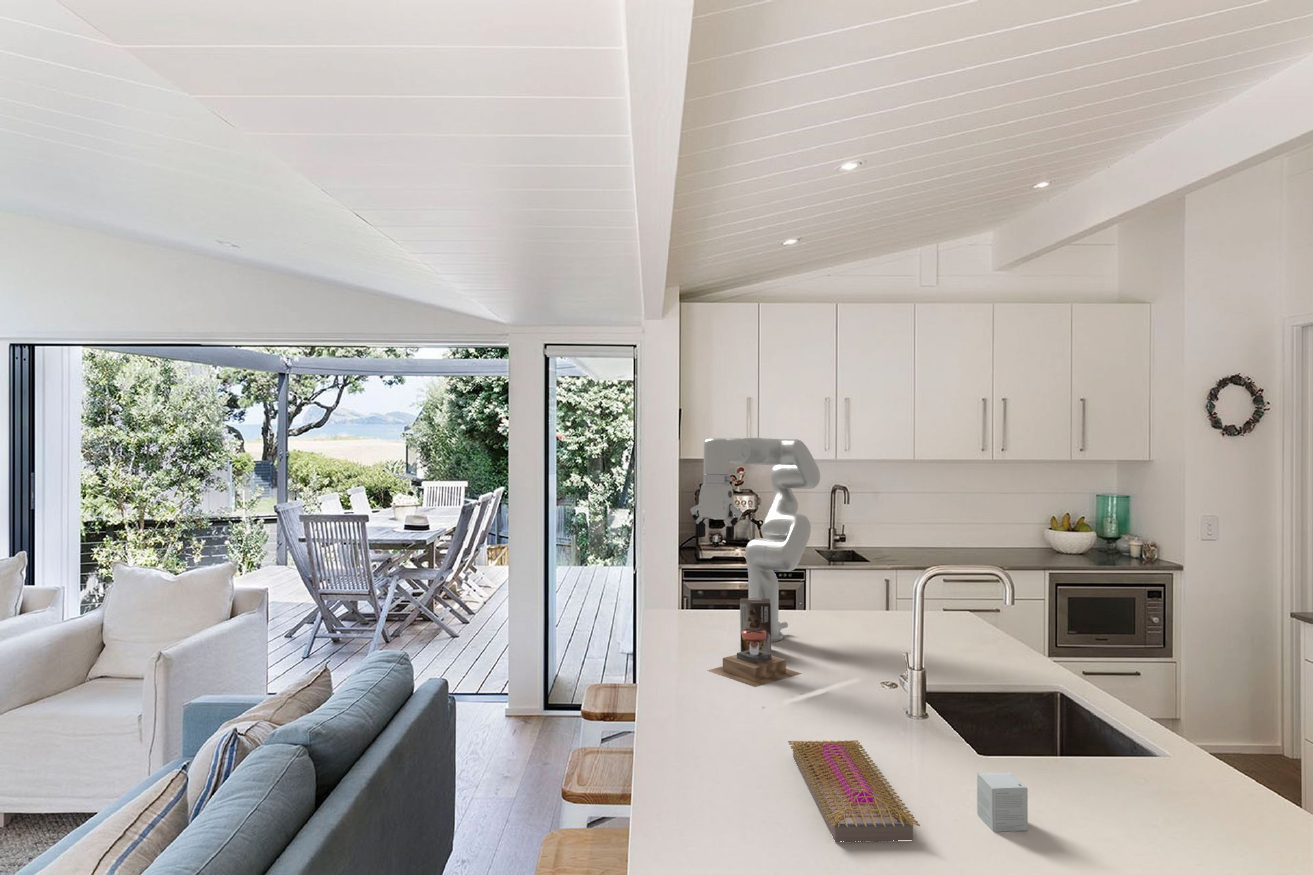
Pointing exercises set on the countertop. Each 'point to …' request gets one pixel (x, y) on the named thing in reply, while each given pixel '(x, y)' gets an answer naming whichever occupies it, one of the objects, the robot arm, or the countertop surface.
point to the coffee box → (755, 621)
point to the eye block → (754, 668)
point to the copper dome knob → (754, 638)
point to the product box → (1002, 802)
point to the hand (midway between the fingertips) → (715, 538)
